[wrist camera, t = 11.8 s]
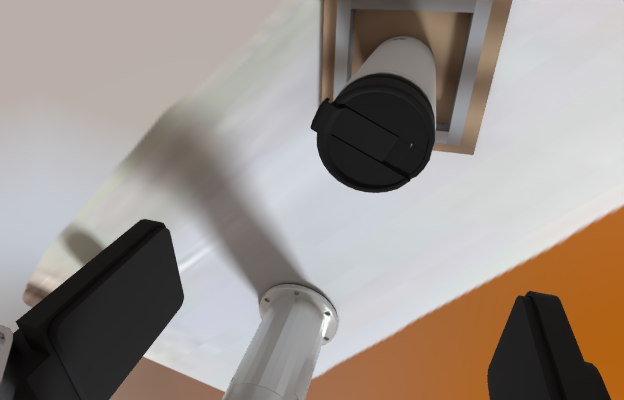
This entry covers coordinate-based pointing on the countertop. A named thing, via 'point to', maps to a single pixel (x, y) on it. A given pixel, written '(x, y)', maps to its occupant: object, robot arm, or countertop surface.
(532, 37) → the countertop surface
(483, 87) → the frame
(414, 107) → the travel mug
